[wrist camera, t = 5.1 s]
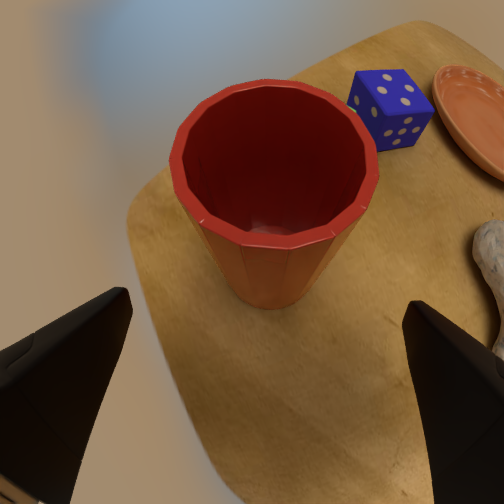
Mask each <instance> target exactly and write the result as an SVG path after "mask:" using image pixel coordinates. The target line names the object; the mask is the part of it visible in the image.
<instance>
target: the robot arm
mask: <svg viewBox="0 0 504 504" xmlns="http://www.w3.org/2000/svg"><path fill="white" fill-rule="evenodd" d="M132 314H133V308H132V304H131V300H130V296H129V292H128V290H127V289H126V288H124V287H114V288H112V289H110V290H108V291H107V292H104V293H103V294H101V295H99V296H97V297H95V298H94V299H92V300H90V301H88V302H86V303H85V304H83V305H81V306H79V307H78V308H76V309H74V310H72V311H71V312H69V313H67V314H65V315H63V316H62V317H60V318H58V319H56V320H55V321H53V322H51V323H49V324H48V325H46V326H44V327H42V328H41V329H39V330H37V331H36V332H35V333H32V334H30V335H29V336H27V337H25V338H23V339H22V340H20V341H18V342H16V343H15V344H13V345H11V346H9V347H7V348H5V349H3V350H1V351H0V504H38V502H39V501H40V502H42V503H44V504H70V501H71V497H72V494H73V490H74V486H75V483H76V479H77V476H78V472H79V469H80V466H81V463H82V461H81V460H82V459H83V456H84V453H85V449H86V446H87V443H88V440H89V437H90V434H91V431H92V428H93V426H94V423H95V420H96V417H97V414H98V411H99V409H100V406H101V403H102V401H103V398H104V395H105V392H106V390H107V387H108V385H109V382H110V379H111V377H112V374H113V372H114V369H115V367H116V364H117V362H118V359H119V356H120V354H121V351H122V348H123V344H124V341H125V338H126V334H127V331H128V328H129V324H130V321H131V317H132ZM402 330H403V335H404V341H405V346H406V353H407V359H408V365H409V369H410V373H411V377H412V381H413V385H414V389H415V393H416V398H417V402H418V406H419V411H420V415H421V420H422V425H423V430H424V435H425V440H426V446H427V452H428V458H429V464H430V471H431V478H432V487H433V496H434V504H504V360H502V359H501V358H500V357H499V356H497V355H496V356H495V353H493V352H492V351H491V350H489V349H488V348H487V347H485V346H484V345H483V344H481V343H480V342H479V341H477V340H476V339H475V338H473V337H472V336H471V335H469V334H468V333H467V332H465V331H464V330H463V329H461V328H460V327H458V326H457V325H456V324H454V323H453V322H452V321H450V320H449V319H447V318H446V317H445V316H443V315H442V314H440V313H439V312H438V311H436V310H435V309H433V308H432V307H430V306H429V305H428V304H426V303H425V302H423V301H421V300H418V301H410V303H409V304H408V307H407V310H406V313H405V315H404V318H403V321H402Z"/></svg>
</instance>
